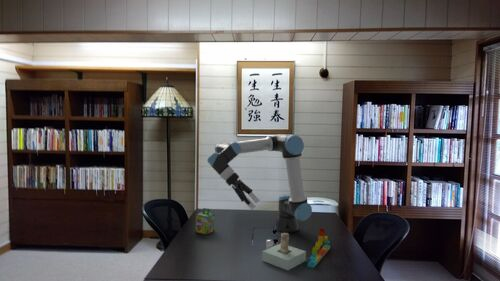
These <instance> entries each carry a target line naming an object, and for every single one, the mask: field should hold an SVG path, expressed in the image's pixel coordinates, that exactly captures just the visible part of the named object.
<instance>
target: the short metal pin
mask: <svg viewBox="0 0 500 281" xmlns="http://www.w3.org/2000/svg"><path fill="white" fill-rule="evenodd" d="M265 240H266V242H265V243H266V244H265V250H266V249H269V248H271V247H273V246H274V240H273V239H271V238H267V239H265Z"/></svg>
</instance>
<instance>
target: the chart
mask: <svg viewBox="0 0 500 281" xmlns="http://www.w3.org/2000/svg"><path fill="white" fill-rule="evenodd" d="M323 243H324V245H323ZM330 243H331V241H330V240H329V237H328V236H327V235H326V234H325V228H321V227H320V228H319V231H318V238H317V241H316V242H315V245H314V246H313V247H312V250H311V255H310V257H308V258H307V259H308V260H310V261H309V262H308V263H307V267H308V268H310V269H311V268H312V269H314V268H315V267H316V266H317V265H318V264H319V262H320V261H321V260H322V259H323V257H324V256H325V255H326V254H327V253H328V252H329V250H330V249H331V245H329V244H330ZM321 247H322V248H321ZM320 248H321V249H320Z"/></svg>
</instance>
